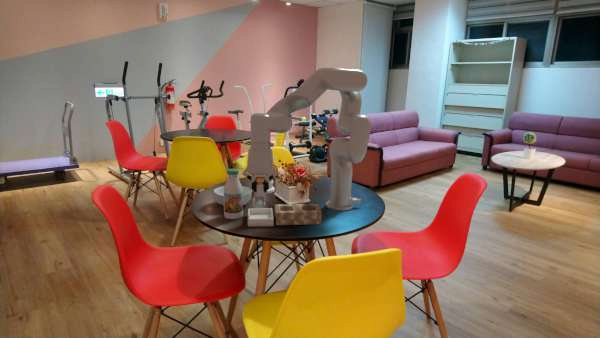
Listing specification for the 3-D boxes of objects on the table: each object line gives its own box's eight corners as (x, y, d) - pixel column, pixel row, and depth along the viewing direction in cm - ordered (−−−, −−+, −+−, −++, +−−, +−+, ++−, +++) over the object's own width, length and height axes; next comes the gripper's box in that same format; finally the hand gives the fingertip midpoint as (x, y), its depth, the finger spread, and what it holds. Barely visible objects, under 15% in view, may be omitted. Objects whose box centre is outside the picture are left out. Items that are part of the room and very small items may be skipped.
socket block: (317, 214, 158) (317, 201, 156) (321, 224, 148) (321, 209, 147) (274, 215, 156) (274, 202, 154) (276, 225, 146) (276, 210, 145)
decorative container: (249, 193, 184) (248, 157, 179) (254, 186, 195) (254, 153, 191) (272, 194, 183) (272, 159, 178) (276, 187, 194) (276, 154, 189)
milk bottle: (220, 216, 154) (219, 169, 149) (235, 211, 159) (235, 166, 154) (231, 221, 148) (230, 173, 143) (246, 216, 154) (246, 170, 149)
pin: (264, 204, 151) (265, 175, 148) (265, 207, 147) (265, 178, 144) (254, 204, 150) (255, 175, 147) (254, 207, 146) (255, 178, 143)
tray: (272, 214, 156) (272, 208, 156) (273, 226, 145) (273, 218, 144) (248, 215, 155) (248, 208, 154) (247, 226, 144) (247, 219, 143)
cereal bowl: (249, 212, 159) (249, 196, 157) (210, 211, 159) (209, 195, 157) (253, 199, 175) (253, 185, 174) (218, 198, 175) (218, 184, 173)
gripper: (281, 144, 147) (280, 188, 152) (238, 143, 145) (239, 188, 150) (282, 148, 140) (281, 194, 144) (238, 147, 138) (238, 194, 142)
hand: (260, 190), depth 147 cm, fingers closed on pin, 4 cm apart
